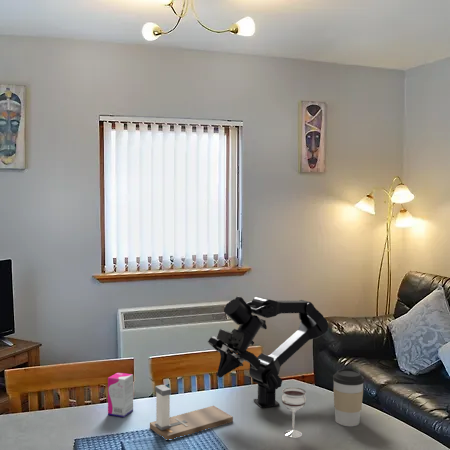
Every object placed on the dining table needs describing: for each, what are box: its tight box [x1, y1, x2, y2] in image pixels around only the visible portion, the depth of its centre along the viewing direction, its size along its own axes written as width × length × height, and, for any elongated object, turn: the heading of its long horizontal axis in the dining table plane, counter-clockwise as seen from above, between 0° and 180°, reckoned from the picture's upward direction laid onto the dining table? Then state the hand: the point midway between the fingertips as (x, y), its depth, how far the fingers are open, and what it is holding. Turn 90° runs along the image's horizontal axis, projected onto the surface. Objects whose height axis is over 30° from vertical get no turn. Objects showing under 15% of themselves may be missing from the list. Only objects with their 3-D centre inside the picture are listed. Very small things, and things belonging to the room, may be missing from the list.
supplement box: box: [107, 372, 134, 418], centre depth 163 cm, size 6×6×12 cm
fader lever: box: [154, 384, 172, 430], centre depth 150 cm, size 3×4×11 cm
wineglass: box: [281, 387, 307, 439], centre depth 150 cm, size 7×7×12 cm
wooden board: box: [149, 405, 234, 440], centre depth 155 cm, size 22×10×2 cm, turn 125°
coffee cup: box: [332, 367, 365, 427], centre depth 158 cm, size 9×9×15 cm
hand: (218, 376), depth 160 cm, fingers closed
